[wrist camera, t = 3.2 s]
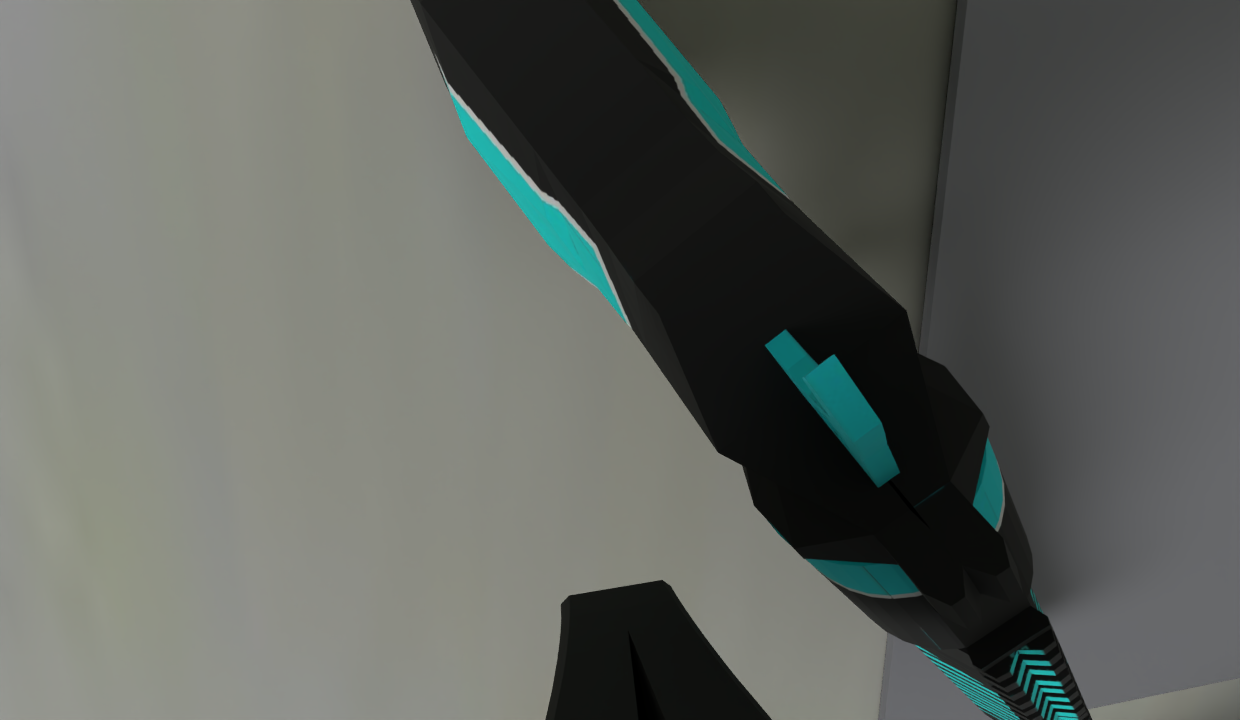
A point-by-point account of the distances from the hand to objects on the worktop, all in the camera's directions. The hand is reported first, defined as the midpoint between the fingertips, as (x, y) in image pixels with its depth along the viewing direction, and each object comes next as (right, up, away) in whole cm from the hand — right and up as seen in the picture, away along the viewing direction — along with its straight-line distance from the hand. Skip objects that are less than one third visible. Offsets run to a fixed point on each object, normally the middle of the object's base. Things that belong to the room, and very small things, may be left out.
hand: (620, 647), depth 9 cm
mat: (+14, +4, +8) cm, 16 cm away
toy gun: (+4, +3, +6) cm, 8 cm away
